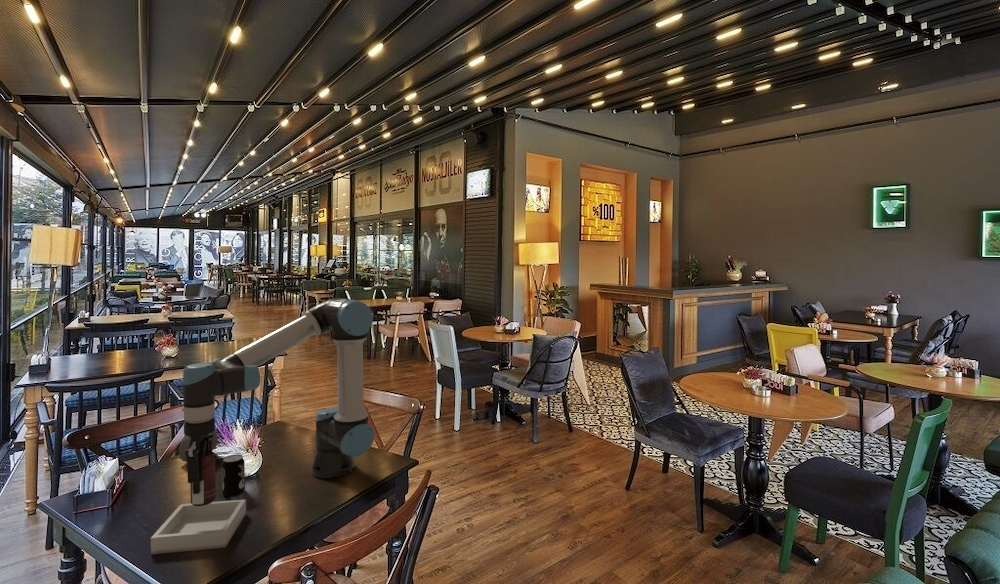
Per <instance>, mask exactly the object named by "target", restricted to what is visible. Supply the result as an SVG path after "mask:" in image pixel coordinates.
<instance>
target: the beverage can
mask: <svg viewBox="0 0 1000 584" xmlns="http://www.w3.org/2000/svg"><path fill="white" fill-rule="evenodd" d="M245 469H246V468H245V458H244V456H243V455H242V454H231V455H228V456H225V457H224V458H223V461H222V464H221V476H222V478H221V481H222V483H221V485H222V487H221V488H222V494H223V495H224V496H225V497H230V498H231V497H232V498H233V497H236V496H237V497H238V496H239V495H242V494H243V492H244V491H245V489H246V478H245V477H246V475H245V473H246V472H245Z"/></svg>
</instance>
